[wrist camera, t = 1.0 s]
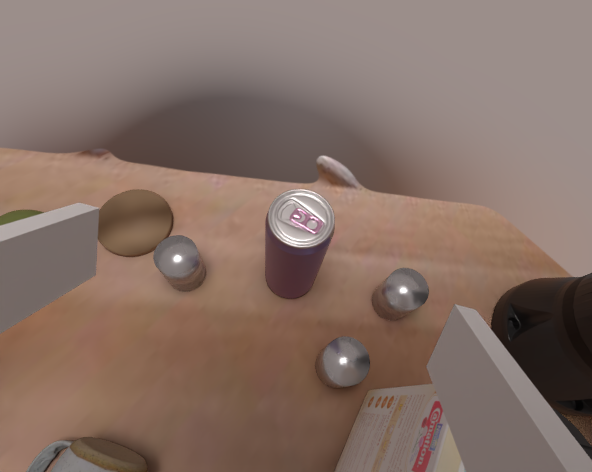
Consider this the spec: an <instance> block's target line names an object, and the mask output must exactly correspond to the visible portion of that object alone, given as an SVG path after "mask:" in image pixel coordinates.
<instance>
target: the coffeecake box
mask: <svg viewBox="0 0 592 472" xmlns="http://www.w3.org/2000/svg"><path fill="white" fill-rule="evenodd" d="M334 472H466V470H465V468H464V465H463V462H462V460H461V457H460V454H459V452H458V449H457V446H456V444H455V441H454V438H453V436H452V433H451V431H450V428H449V425H448V423H447V420H446V417H445V415H444V412H443V409H442V407H441V404H440V401H439V399H438V396H437V393H436V391H435V388H434V386H433V384H425V385H414V386H405V387H395V388H384V389H374V390H368V392H367V394H366V397H365V399H364V401H363V404H362V406H361V408H360V411H359V413H358V415H357V418H356V420H355V423H354V425H353V427H352V430H351V432H350V435H349V437H348V440H347V442H346V445H345V447H344V449H343V452H342V454H341V457H340V459H339V461H338V464H337V466H336V469H335V471H334Z"/></svg>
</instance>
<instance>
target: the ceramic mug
mask: <svg viewBox="0 0 592 472" xmlns="http://www.w3.org/2000/svg"><path fill="white" fill-rule="evenodd" d="M66 447H68V448H67V450H66V451H65V452H64V453H63V454H62V456H61V457H60V458H59V460H58V461H57V463H56V464H55V466H54V467H53V469H52V471H51V472H147V469H148V468H147V464H146V461H145V459H143V458H142V457H141V456H140V455H139V454H137V453H135V452H133V451H132V450H130V449H128V448H125V447H123V446H121V445H118V444H115V443H113V442H110V441H106V440H103V439H99V438H93V437H83V438H80V439H78V440H76V441H67V440H63V441H56V442H54V443H52V444H50V445H48V446H47V447H46V448H44V449H43V450H42V451H41V452H40V453H39V454H38V456H37V457H36V458H35V459H34V460H33V462H32V463H31V465H30V466H29V468H28V469H27V471H26V472H44V471H45V469H46V468H47V466H48V465H49V464H50V462H51V461H52V459H54V458H55V456H56V455H57V453H58V452H59V451H60V450H62V449H64V448H66Z"/></svg>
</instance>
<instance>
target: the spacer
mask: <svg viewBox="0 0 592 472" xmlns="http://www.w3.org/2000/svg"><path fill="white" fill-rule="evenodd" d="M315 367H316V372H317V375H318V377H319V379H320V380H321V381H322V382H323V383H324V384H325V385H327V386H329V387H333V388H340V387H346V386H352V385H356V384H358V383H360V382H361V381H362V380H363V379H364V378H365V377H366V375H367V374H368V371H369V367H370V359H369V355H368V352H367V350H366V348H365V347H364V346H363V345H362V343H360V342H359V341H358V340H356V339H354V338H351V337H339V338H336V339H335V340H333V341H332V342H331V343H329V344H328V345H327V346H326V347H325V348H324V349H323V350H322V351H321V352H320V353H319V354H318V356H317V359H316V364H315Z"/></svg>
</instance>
